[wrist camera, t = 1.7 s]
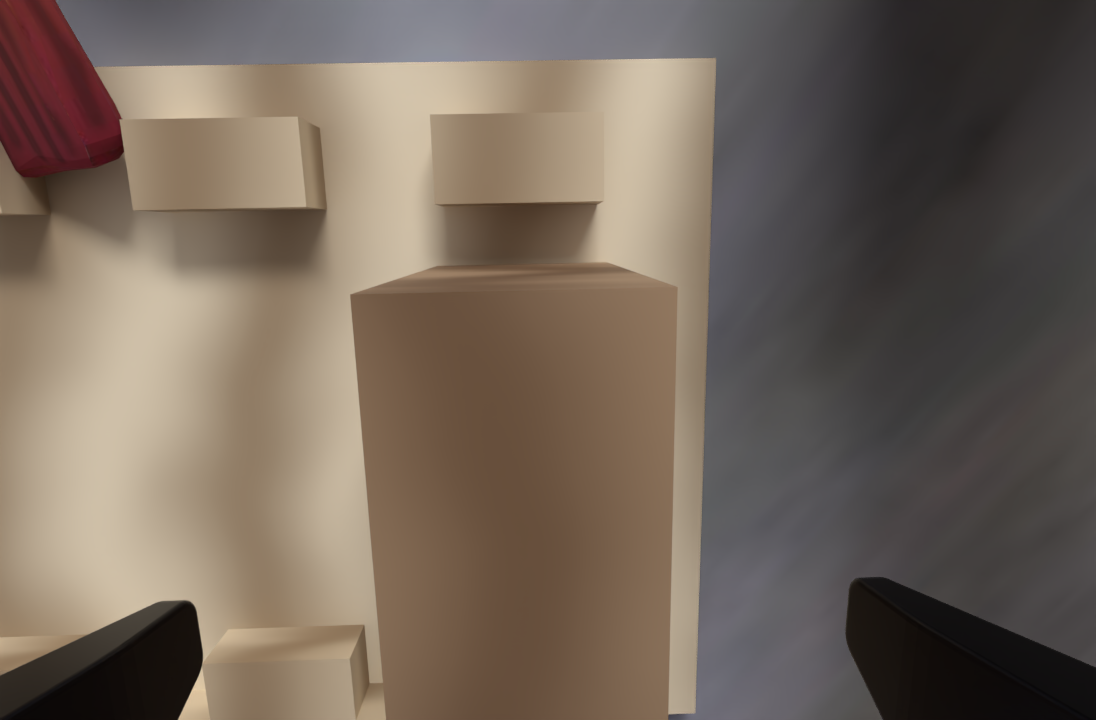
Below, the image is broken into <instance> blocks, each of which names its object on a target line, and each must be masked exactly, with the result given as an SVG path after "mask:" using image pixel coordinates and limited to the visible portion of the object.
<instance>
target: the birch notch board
mask: <svg viewBox="0 0 1096 720" xmlns="http://www.w3.org/2000/svg"><path fill="white" fill-rule="evenodd" d="M94 69H95V70H96V72H97V74H98V76H99V77H100V79H101V81H102V82H103V84H104V86H105V88H106V89H107V91H108V93H109V94H110V96H111V98H112V100H113V101H114V103H115V105H116V107H117V109H118V111H119V113H120V116H121V118H122V119H119V120H120V126H121V133H122V140H123V146H124V153H123V154H122V155H121V157H120V158H119V159H117V160H114V161H112V162H109V163H107V164H104V165H102V166H99V167H96V168H90V169H80V170H71V171H64V172H59V173H55V174H50V175H46V176H41V177H37V178H30V177H23V176H21V175H20V174H19V173H18V172H17V171H16V170H15V168H14V167H13V165H12V163H11V161H10V159H9V157H8V155H7V153H6V151H5V149H4V147H3V145H2V143H1V142H0V675H2V674H4V673H6V672H8V671H11V670H13V669H15V668H17V667H19V666H21V665H23V664H26V663H28V662H30V661H32V660H34V659H36V658H38V657H41V656H43V655H45V654H47V653H49V652H51V651H53V650H56V649H58V648H60V647H62V646H64V645H66V644H68V643H71V642H73V641H75V640H77V639H79V638H81V637H83V636H86V635H88V634H90V633H92V632H94V631H96V630H98V629H101V628H103V627H105V626H107V625H109V624H111V623H113V622H116V621H118V620H120V619H122V618H124V617H126V616H128V615H131V614H133V613H135V612H137V611H139V610H141V609H143V608H146V607H148V606H150V605H152V604H154V603H157V602H160V601H175V600H188V601H190V602H192V603H193V604H194V606H195V607H196V611H197V616H198V622H199V629H200V636H201V642H202V649H203V663H202V668H201V671H200V674H199V677H198V679H197V681H196V683H195V685H194V687H193V689H192V691H191V694H190V696H189V698H188V700H187V702H186V704H185V706H184V708H183V711H182V713H181V715H180V717H179V719H178V720H386V713H385V702H384V690H383V678H382V666H381V654H380V643H379V631H378V619H377V607H376V595H375V584H374V572H373V560H372V548H371V536H370V525H369V513H368V501H367V489H366V477H365V466H364V454H363V442H362V430H361V418H360V406H359V395H358V383H357V371H356V359H355V347H354V336H353V324H352V312H351V300H350V294H353V293H356V292H359V291H362V290H365V289H368V288H371V287H374V286H377V285H380V284H383V283H387V282H390V281H393V280H396V279H399V278H402V277H405V276H408V275H411V274H414V273H417V272H420V271H423V270H426V269H429V268H432V267H435V266H455V265H501V264H546V263H592V262H608V263H611V264H614V265H616V266H619V267H622V268H625V269H628V270H631V271H634V272H636V273H639V274H642V275H645V276H648V277H651V278H654V279H656V280H659V281H662V282H665V283H668V284H671V285H673V286H676V287H678V293H677V339H676V385H675V431H674V477H673V523H672V569H671V615H670V661H669V707H668V714H688V713H695V705H696V674H697V642H698V611H699V580H700V548H701V517H702V485H703V454H704V423H705V391H706V360H707V328H708V297H709V266H710V234H711V203H712V171H713V140H714V109H715V77H716V58H690V59H620V60H549V61H479V62H408V63H337V64H267V65H196V66H126V67H94Z"/></svg>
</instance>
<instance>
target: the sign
mask: <svg viewBox="0 0 1096 720" xmlns="http://www.w3.org/2000/svg"><path fill="white" fill-rule="evenodd" d="M119 119H122V118H121V116H120V113H119V111H118V109H117V107H116V105H115V103H114V101H113V100H112V98H111V96H110V94H109V93H108V91H107V89H106V88H105V86H104V84H103V82H102V81H101V79H100V77H99V76H98V74H97V72H96V70H95V69H94V67H93V65H92V64H91V62H90V60H89V58H88V57H87V55H86V53H85V52H84V50H83V48H82V46H81V45H80V43H79V41H78V39H77V38H76V36H75V34H74V33H73V31H72V29H71V27H70V26H69V24H68V22H67V21H66V19H65V17H64V15H63V14H62V12H61V10H60V8H59V6H58V5H57V3H56V1H55V0H0V142H1V143H2V145H3V147H4V149H5V151H6V153H7V155H8V157H9V159H10V161H11V163H12V165H13V167H14V168H15V170H16V171H17V172H18V173H19V174H20V175H21V176H23V177H30V178H37V177H41V176H46V175H50V174H55V173H59V172H64V171H71V170H80V169H90V168H96V167H99V166H102V165H104V164H107V163H109V162H112V161H114V160H117V159H119V158H120V157H121V155H122V154H123V153H124V146H123V140H122V133H121V126H120V120H119Z"/></svg>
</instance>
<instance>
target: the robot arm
mask: <svg viewBox="0 0 1096 720" xmlns="http://www.w3.org/2000/svg"><path fill="white" fill-rule="evenodd" d="M846 641H847V645H848V648H849V651H850V653H851V655H852V657H853V659H854V661H855V663H856V665H857V667H858V669H859V672H860V674H861V676H862V678H863V680H864V682H865V684H866V686H867V688H868V690H869V692H870V694H871V696H872V698H873V700H874V703H875V705H876V707H877V709H878V711H879V713H880V715H881V717H882V719H883V720H1096V667H1093V666H1091V665H1089V664H1086V663H1084V662H1082V661H1079V660H1077V659H1075V658H1072V657H1070V656H1068V655H1065V654H1063V653H1061V652H1058V651H1056V650H1054V649H1051V648H1049V647H1047V646H1044V645H1042V644H1039V643H1037V642H1035V641H1032V640H1030V639H1028V638H1025V637H1023V636H1021V635H1018V634H1016V633H1014V632H1011V631H1009V630H1007V629H1004V628H1002V627H1000V626H997V625H995V624H993V623H990V622H988V621H986V620H983V619H981V618H978V617H976V616H974V615H971V614H969V613H967V612H964V611H962V610H960V609H957V608H955V607H953V606H950V605H948V604H946V603H943V602H941V601H939V600H936V599H934V598H932V597H929V596H927V595H924V594H922V593H920V592H917V591H915V590H913V589H910V588H908V587H906V586H903V585H901V584H899V583H896V582H894V581H892V580H889V579H887V578H883V577H867V578H856V579H854V580H853V581H852V582H851V584H850V588H849V595H848V607H847V618H846ZM202 663H203V649H202V642H201V636H200V629H199V622H198V616H197V611H196V607H195V606H194V604H193V603H192V602H190V601H188V600H175V601H160V602H157V603H154V604H152V605H150V606H148V607H146V608H143V609H141V610H139V611H137V612H135V613H133V614H131V615H128V616H126V617H124V618H122V619H120V620H118V621H116V622H113V623H111V624H109V625H107V626H105V627H103V628H101V629H98V630H96V631H94V632H92V633H90V634H88V635H86V636H83V637H81V638H79V639H77V640H75V641H73V642H71V643H68V644H66V645H64V646H62V647H60V648H58V649H56V650H53V651H51V652H49V653H47V654H45V655H43V656H41V657H38V658H36V659H34V660H32V661H30V662H28V663H26V664H23V665H21V666H19V667H17V668H15V669H13V670H11V671H8V672H6V673H4V674H2V675H0V720H178V719H179V717H180V715H181V713H182V711H183V708H184V706H185V704H186V702H187V700H188V698H189V696H190V694H191V691H192V689H193V687H194V685H195V683H196V681H197V679H198V677H199V674H200V671H201V668H202Z"/></svg>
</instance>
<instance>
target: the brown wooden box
mask: <svg viewBox="0 0 1096 720" xmlns="http://www.w3.org/2000/svg"><path fill="white" fill-rule="evenodd" d="M677 293H678V287H676V286H673V285H671V284H668V283H665V282H662V281H659V280H656V279H654V278H651V277H648V276H645V275H642V274H639V273H636V272H634V271H631V270H628V269H625V268H622V267H619V266H616V265H614V264H611V263H608V262H592V263H546V264H501V265H455V266H435V267H432V268H429V269H426V270H423V271H420V272H417V273H414V274H411V275H408V276H405V277H402V278H399V279H396V280H393V281H390V282H387V283H383V284H380V285H377V286H374V287H371V288H368V289H365V290H362V291H359V292H356V293H353V294H350V300H351V312H352V324H353V336H354V347H355V359H356V371H357V383H358V395H359V406H360V418H361V430H362V442H363V454H364V466H365V477H366V489H367V501H368V513H369V525H370V536H371V548H372V560H373V572H374V584H375V595H376V607H377V619H378V631H379V643H380V654H381V666H382V678H383V690H384V702H385V713H386V720H668V707H669V661H670V615H671V569H672V523H673V477H674V431H675V385H676V339H677Z"/></svg>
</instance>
